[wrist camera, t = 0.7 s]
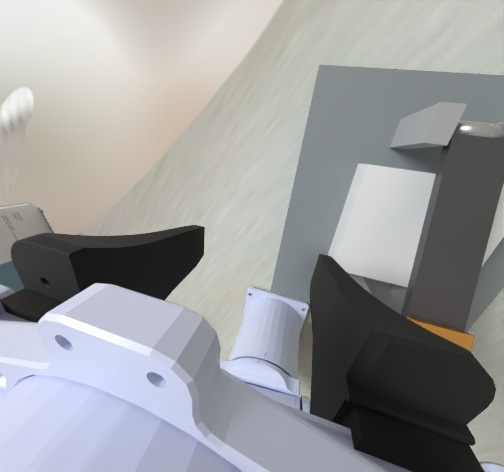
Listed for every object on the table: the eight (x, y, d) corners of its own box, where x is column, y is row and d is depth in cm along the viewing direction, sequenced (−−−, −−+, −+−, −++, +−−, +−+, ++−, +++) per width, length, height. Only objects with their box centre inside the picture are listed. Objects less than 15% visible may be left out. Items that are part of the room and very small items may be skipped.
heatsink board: (450, 333, 21) (502, 395, 16) (272, 285, 25) (262, 321, 19) (635, 91, 12) (906, 35, 7) (318, 71, 16) (325, 23, 10)
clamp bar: (443, 364, 12) (463, 380, 11) (389, 347, 12) (401, 361, 11) (504, 131, 11) (533, 117, 10) (445, 125, 12) (465, 111, 11)
